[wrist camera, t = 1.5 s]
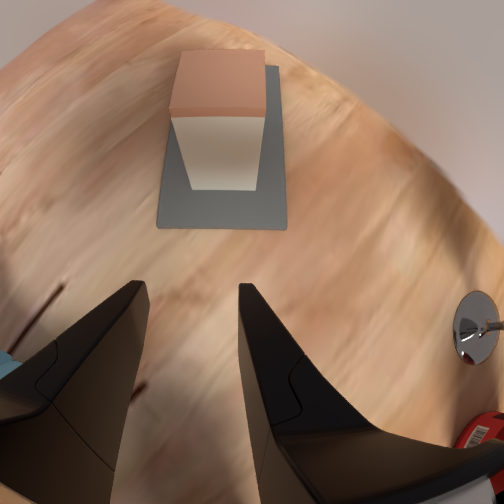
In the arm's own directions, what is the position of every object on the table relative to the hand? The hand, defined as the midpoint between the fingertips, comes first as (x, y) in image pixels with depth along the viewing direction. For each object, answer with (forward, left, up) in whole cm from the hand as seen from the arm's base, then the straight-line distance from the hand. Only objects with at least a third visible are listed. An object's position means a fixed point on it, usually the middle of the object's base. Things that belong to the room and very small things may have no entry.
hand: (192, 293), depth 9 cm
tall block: (+9, +8, -13) cm, 18 cm away
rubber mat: (+12, +10, -14) cm, 21 cm away
